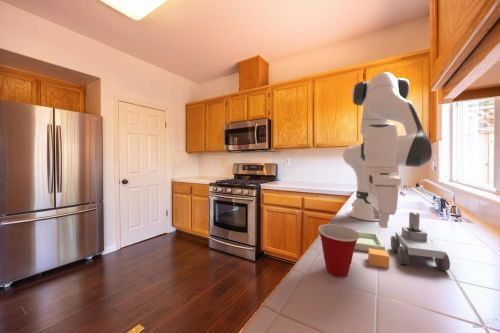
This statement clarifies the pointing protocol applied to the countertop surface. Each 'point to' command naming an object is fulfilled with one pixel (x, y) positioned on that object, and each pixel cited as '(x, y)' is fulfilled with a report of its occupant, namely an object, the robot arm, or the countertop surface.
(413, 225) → the pin
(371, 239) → the tray
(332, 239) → the plastic cup
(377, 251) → the chock
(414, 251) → the cart
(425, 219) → the countertop surface
